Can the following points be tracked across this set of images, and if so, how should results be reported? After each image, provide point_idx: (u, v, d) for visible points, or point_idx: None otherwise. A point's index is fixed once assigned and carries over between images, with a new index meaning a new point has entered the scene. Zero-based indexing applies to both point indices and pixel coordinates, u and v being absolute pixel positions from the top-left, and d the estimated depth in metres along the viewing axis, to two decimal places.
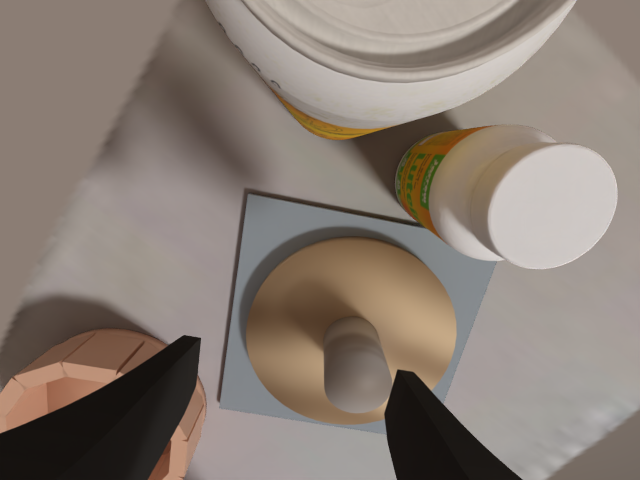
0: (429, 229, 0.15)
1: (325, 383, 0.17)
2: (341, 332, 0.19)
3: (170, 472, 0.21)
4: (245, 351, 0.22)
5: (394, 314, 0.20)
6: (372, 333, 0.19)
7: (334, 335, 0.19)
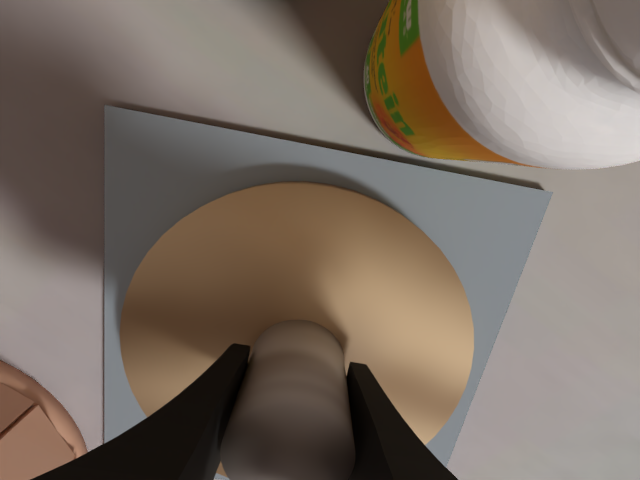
0: (423, 125, 0.07)
1: (222, 453, 0.08)
2: (270, 348, 0.10)
3: None
4: None
5: (368, 315, 0.12)
6: (326, 349, 0.11)
7: (258, 355, 0.10)
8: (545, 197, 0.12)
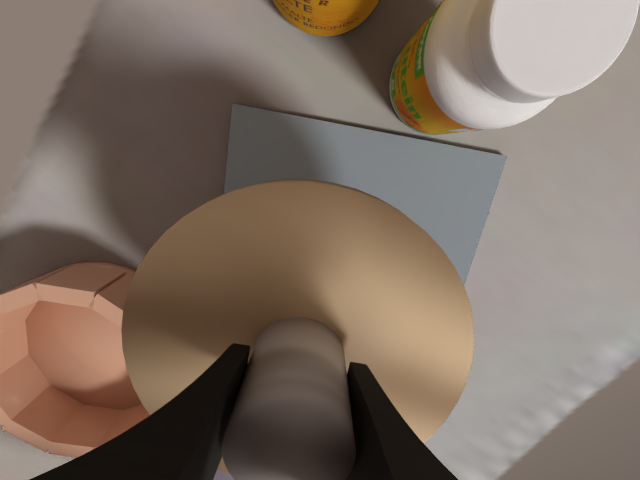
0: (426, 111, 0.14)
1: (224, 450, 0.08)
2: (271, 346, 0.10)
3: None
4: None
5: (369, 313, 0.12)
6: (327, 347, 0.11)
7: (260, 352, 0.10)
8: (502, 159, 0.18)
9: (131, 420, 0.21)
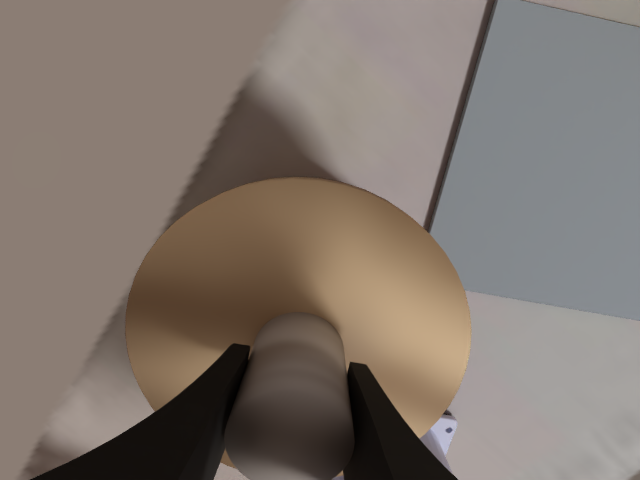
0: None
1: (226, 436, 0.09)
2: (275, 338, 0.11)
3: None
4: (458, 207, 0.19)
5: (371, 312, 0.12)
6: (330, 342, 0.11)
7: (263, 343, 0.11)
8: None
9: None
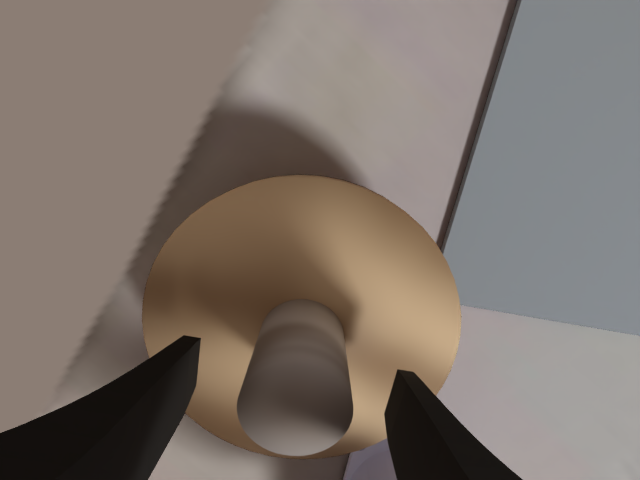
0: None
1: (238, 404, 0.10)
2: (281, 321, 0.12)
3: None
4: (479, 215, 0.17)
5: (368, 299, 0.13)
6: (330, 325, 0.12)
7: (270, 326, 0.12)
8: None
9: None
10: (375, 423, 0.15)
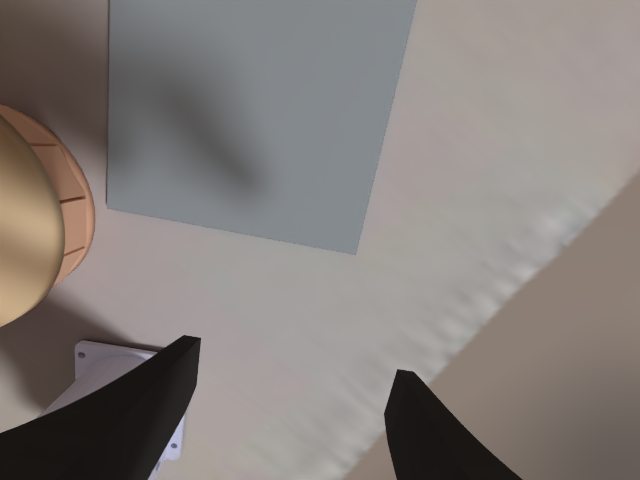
0: None
1: None
2: None
3: None
4: (129, 127, 0.19)
5: None
6: None
7: None
8: None
9: None
10: (1, 301, 0.17)
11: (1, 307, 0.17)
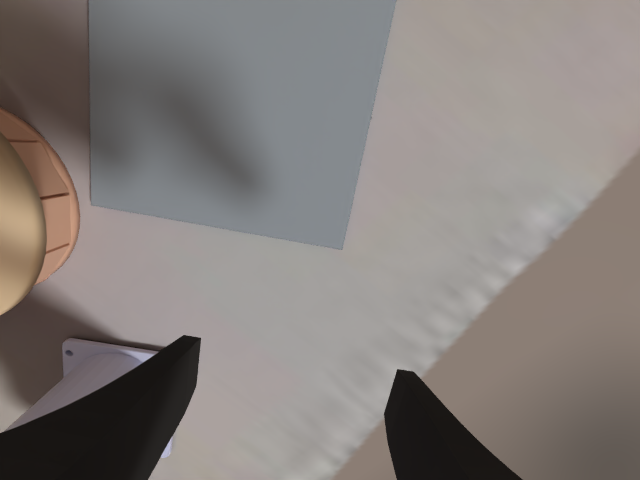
0: None
1: None
2: None
3: None
4: (111, 122, 0.18)
5: None
6: None
7: None
8: None
9: None
10: None
11: None
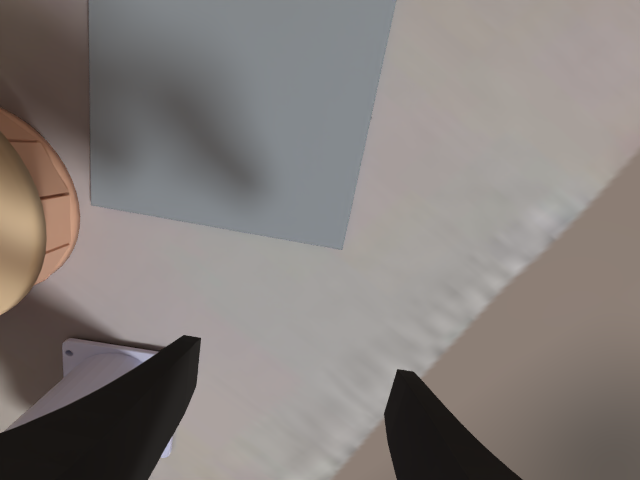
0: None
1: None
2: None
3: None
4: (111, 122, 0.18)
5: None
6: None
7: None
8: None
9: None
10: None
11: None
